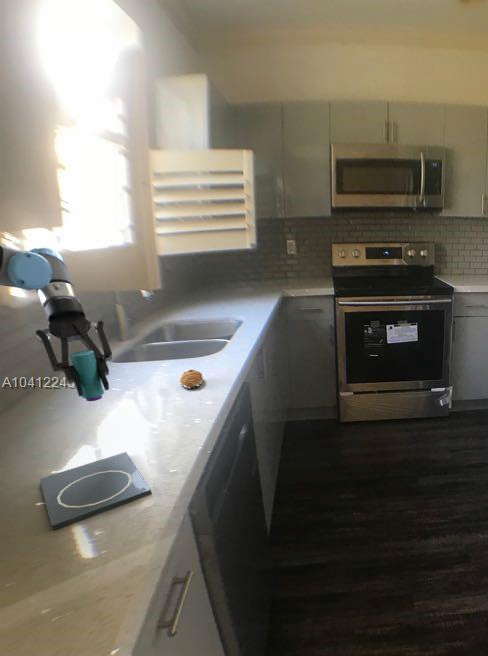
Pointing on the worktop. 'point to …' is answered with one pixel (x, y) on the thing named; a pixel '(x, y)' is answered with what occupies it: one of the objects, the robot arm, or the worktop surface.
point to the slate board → (92, 489)
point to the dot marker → (88, 374)
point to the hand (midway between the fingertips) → (94, 390)
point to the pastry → (191, 378)
